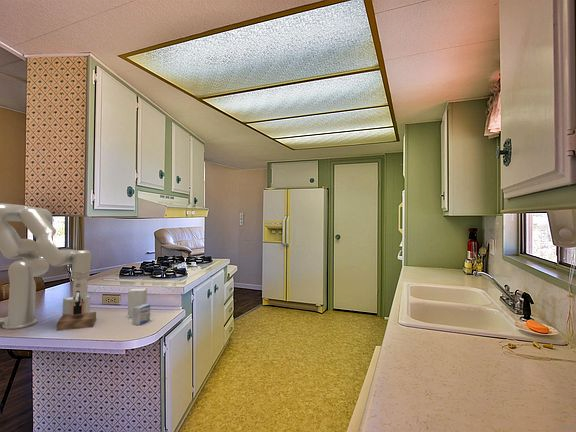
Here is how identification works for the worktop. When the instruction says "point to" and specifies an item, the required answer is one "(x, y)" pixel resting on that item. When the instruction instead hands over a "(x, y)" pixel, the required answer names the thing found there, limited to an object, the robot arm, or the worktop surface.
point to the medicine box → (141, 314)
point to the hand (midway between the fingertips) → (78, 312)
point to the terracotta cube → (82, 308)
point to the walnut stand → (76, 321)
